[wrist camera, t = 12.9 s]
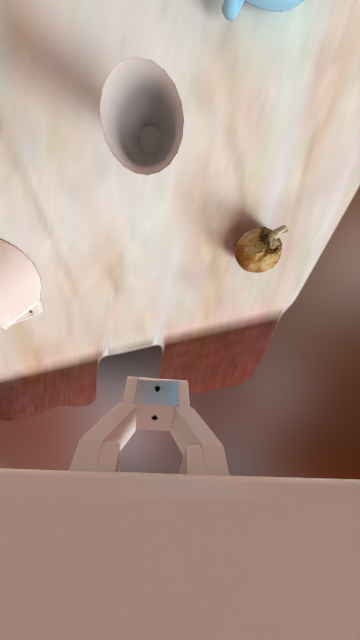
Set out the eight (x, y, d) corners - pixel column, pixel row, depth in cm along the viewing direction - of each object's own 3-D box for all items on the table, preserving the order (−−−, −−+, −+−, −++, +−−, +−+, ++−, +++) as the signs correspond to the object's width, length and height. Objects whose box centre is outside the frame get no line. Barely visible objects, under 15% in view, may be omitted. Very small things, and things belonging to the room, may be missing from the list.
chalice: (128, 120, 32) (89, 58, 16) (176, 117, 32) (182, 54, 16) (136, 180, 36) (110, 177, 20) (179, 178, 36) (185, 173, 20)
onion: (228, 229, 40) (240, 238, 33) (273, 218, 39) (295, 225, 32) (233, 269, 44) (244, 285, 37) (274, 260, 43) (293, 274, 36)
